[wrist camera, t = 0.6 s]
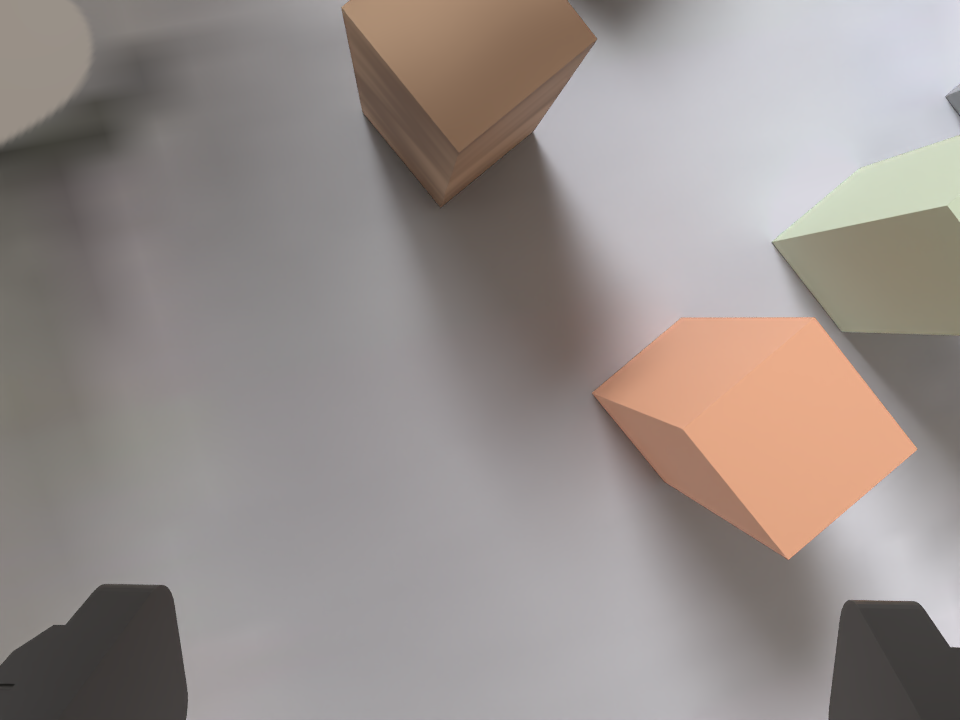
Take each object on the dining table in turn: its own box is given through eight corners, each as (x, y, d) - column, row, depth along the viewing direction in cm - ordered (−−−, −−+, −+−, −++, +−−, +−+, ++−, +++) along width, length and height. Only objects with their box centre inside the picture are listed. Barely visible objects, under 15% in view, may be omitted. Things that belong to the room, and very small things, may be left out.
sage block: (771, 241, 31) (947, 205, 21) (859, 167, 31) (1076, 96, 21) (841, 331, 31) (1047, 338, 21) (928, 258, 31) (1172, 230, 21)
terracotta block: (591, 393, 31) (682, 429, 21) (681, 317, 31) (814, 317, 21) (664, 481, 31) (788, 560, 21) (753, 407, 31) (917, 449, 21)
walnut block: (362, 112, 29) (341, 7, 20) (456, 35, 30) (483, -108, 20) (440, 207, 30) (459, 152, 20) (533, 131, 30) (597, 39, 20)
